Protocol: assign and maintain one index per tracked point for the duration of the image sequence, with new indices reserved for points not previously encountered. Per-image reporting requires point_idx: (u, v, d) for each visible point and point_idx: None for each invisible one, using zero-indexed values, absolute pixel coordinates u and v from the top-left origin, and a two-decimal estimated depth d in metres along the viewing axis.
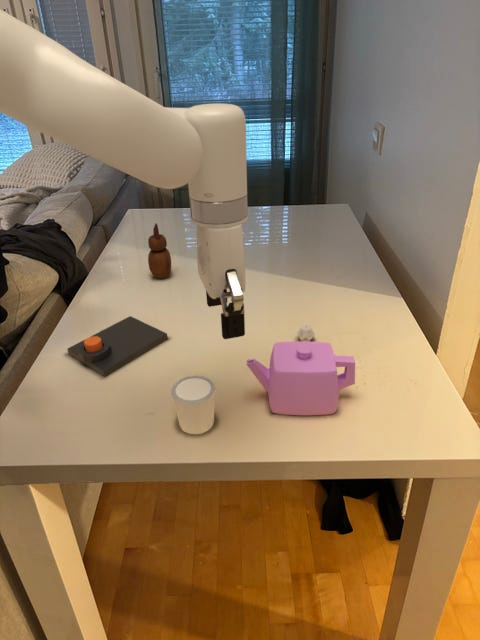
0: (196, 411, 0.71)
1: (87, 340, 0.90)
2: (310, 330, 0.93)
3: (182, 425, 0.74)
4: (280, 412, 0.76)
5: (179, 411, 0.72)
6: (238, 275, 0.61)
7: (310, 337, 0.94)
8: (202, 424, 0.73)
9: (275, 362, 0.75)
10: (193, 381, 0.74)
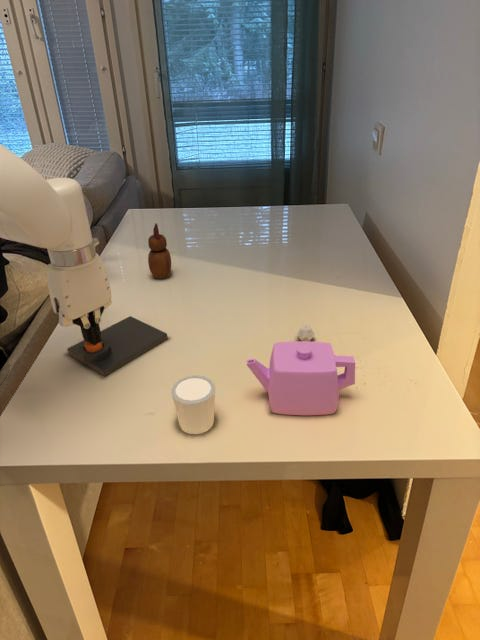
0: (196, 411, 0.71)
1: None
2: (310, 330, 0.93)
3: (182, 425, 0.74)
4: (280, 412, 0.76)
5: (179, 411, 0.72)
6: (60, 304, 0.80)
7: (310, 337, 0.94)
8: (202, 424, 0.73)
9: (275, 362, 0.75)
10: (193, 381, 0.74)
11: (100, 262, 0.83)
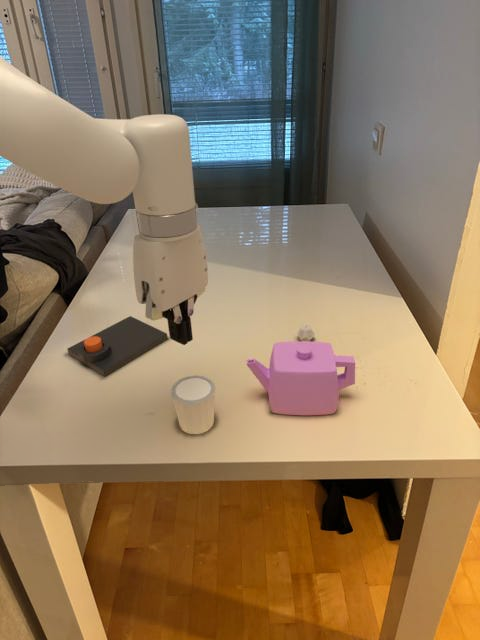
0: (196, 411, 0.71)
1: (87, 340, 0.90)
2: (310, 330, 0.93)
3: (182, 425, 0.74)
4: (280, 412, 0.76)
5: (179, 411, 0.72)
6: (151, 290, 0.60)
7: (310, 337, 0.94)
8: (202, 424, 0.73)
9: (275, 362, 0.75)
10: (193, 381, 0.74)
11: (200, 234, 0.62)
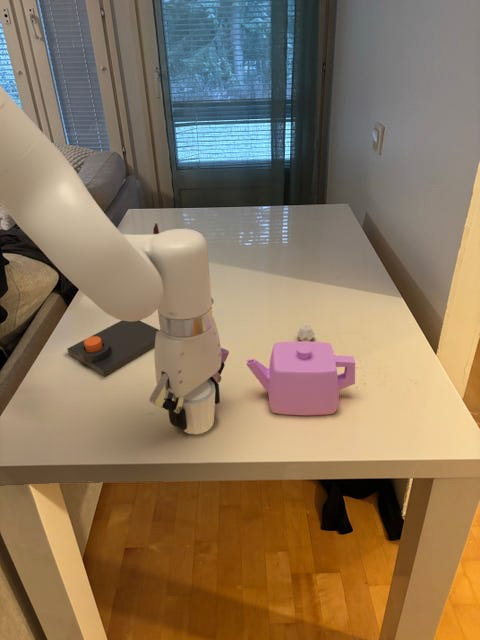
0: (196, 411, 0.71)
1: (87, 340, 0.90)
2: (310, 330, 0.93)
3: None
4: (280, 412, 0.76)
5: None
6: (170, 380, 0.66)
7: (310, 337, 0.94)
8: (202, 424, 0.73)
9: (275, 362, 0.75)
10: None
11: (215, 326, 0.68)
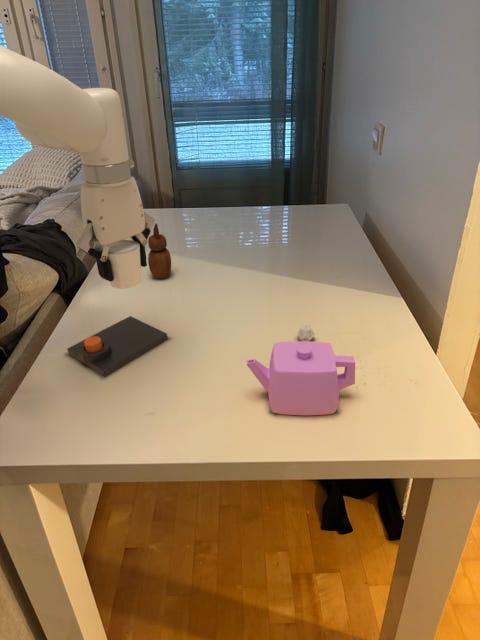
0: (121, 263, 0.81)
1: (87, 340, 0.90)
2: (310, 330, 0.93)
3: None
4: (280, 412, 0.76)
5: None
6: (93, 227, 0.76)
7: (310, 337, 0.94)
8: (128, 278, 0.83)
9: (275, 362, 0.75)
10: (121, 243, 0.84)
11: (135, 185, 0.79)
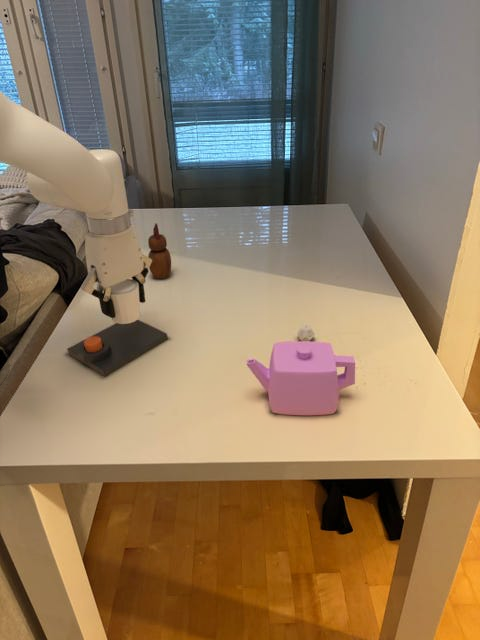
0: (121, 302, 0.89)
1: (87, 340, 0.90)
2: (310, 330, 0.93)
3: None
4: (280, 412, 0.76)
5: None
6: (97, 272, 0.84)
7: (310, 337, 0.94)
8: (128, 315, 0.91)
9: (275, 362, 0.75)
10: (122, 282, 0.92)
11: (134, 232, 0.87)
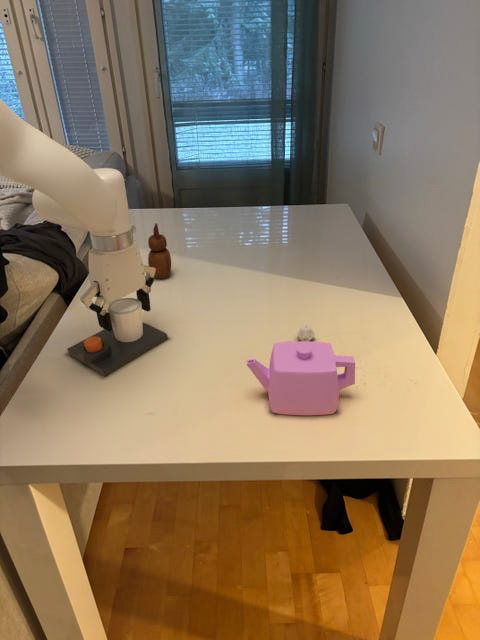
0: (125, 321, 0.91)
1: (87, 340, 0.90)
2: (310, 330, 0.93)
3: (116, 335, 0.94)
4: (280, 412, 0.76)
5: (112, 322, 0.92)
6: (100, 287, 0.86)
7: (310, 337, 0.94)
8: (131, 333, 0.93)
9: (275, 362, 0.75)
10: (125, 301, 0.95)
11: (137, 248, 0.88)
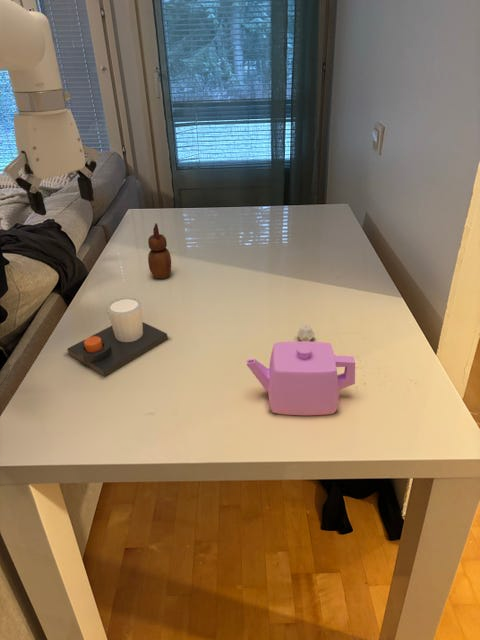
0: (125, 321, 0.91)
1: (87, 340, 0.90)
2: (310, 330, 0.93)
3: (116, 335, 0.94)
4: (280, 412, 0.76)
5: (112, 322, 0.92)
6: (27, 158, 0.75)
7: (310, 337, 0.94)
8: (131, 333, 0.93)
9: (275, 362, 0.75)
10: (125, 301, 0.95)
11: (72, 118, 0.78)
